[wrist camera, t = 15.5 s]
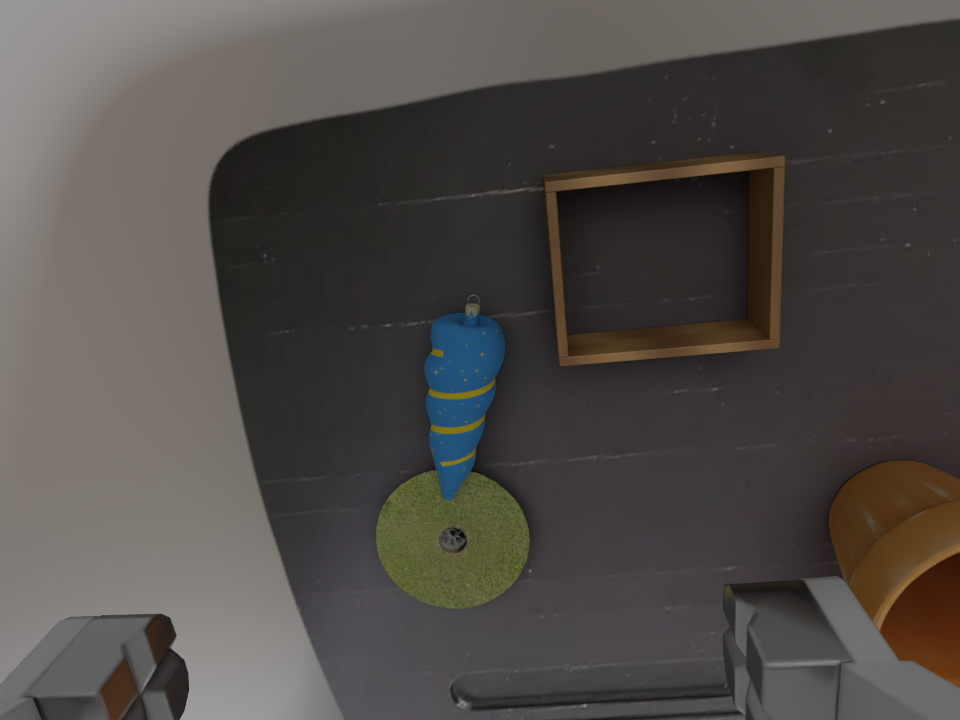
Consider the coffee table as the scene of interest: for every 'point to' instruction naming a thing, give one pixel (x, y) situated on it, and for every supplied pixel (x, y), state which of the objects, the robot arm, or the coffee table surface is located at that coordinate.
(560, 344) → the wooden box
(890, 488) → the flower pot
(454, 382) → the ornament
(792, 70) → the coffee table surface
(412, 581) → the green flat round disc
